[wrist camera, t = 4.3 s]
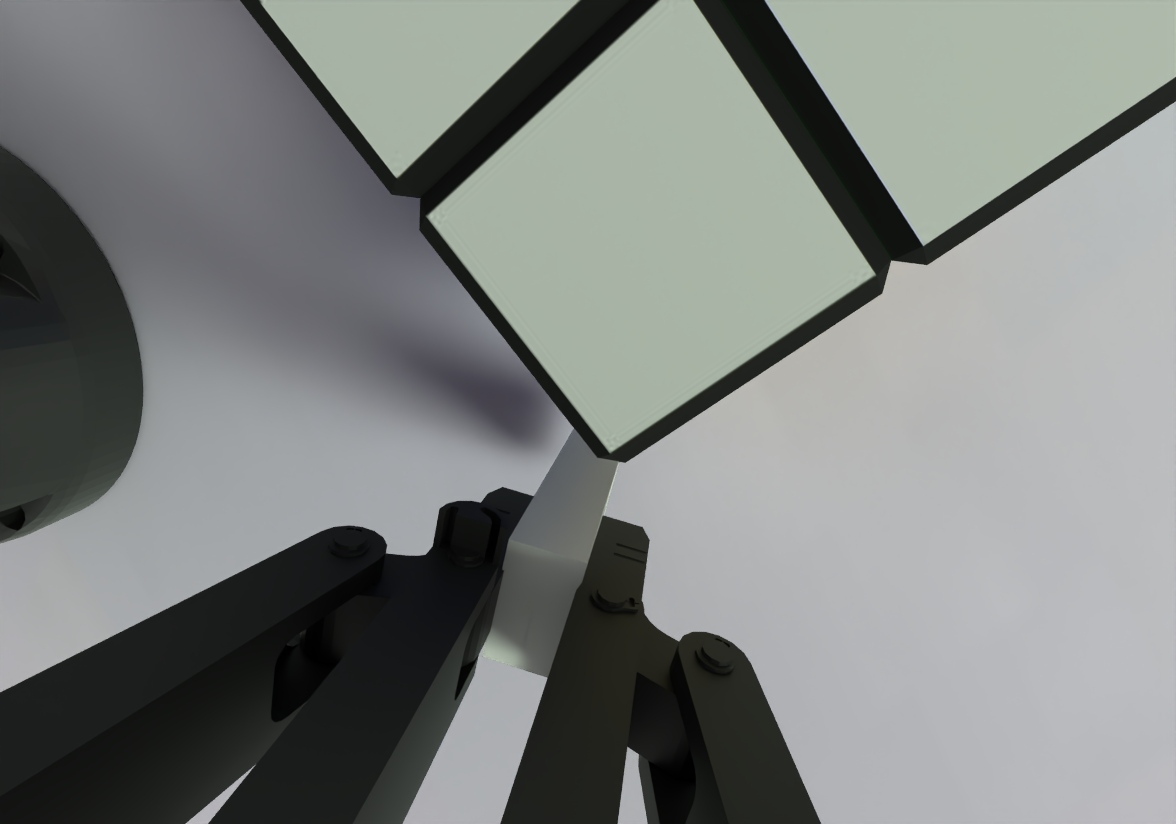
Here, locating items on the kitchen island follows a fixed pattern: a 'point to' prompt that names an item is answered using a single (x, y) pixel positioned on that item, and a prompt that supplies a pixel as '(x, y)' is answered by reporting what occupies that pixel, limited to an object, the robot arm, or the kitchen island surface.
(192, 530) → the kitchen island surface
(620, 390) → the puzzle cube
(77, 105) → the kitchen island surface
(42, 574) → the kitchen island surface
